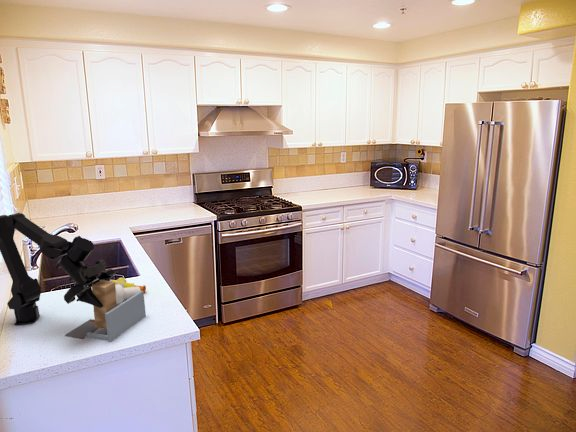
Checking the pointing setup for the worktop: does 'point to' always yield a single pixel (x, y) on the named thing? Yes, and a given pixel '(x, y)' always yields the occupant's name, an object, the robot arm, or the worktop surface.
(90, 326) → the mat
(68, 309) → the worktop surface
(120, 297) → the spotlight
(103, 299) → the oak block
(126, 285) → the toy
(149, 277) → the worktop surface
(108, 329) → the lane rack
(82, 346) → the worktop surface
